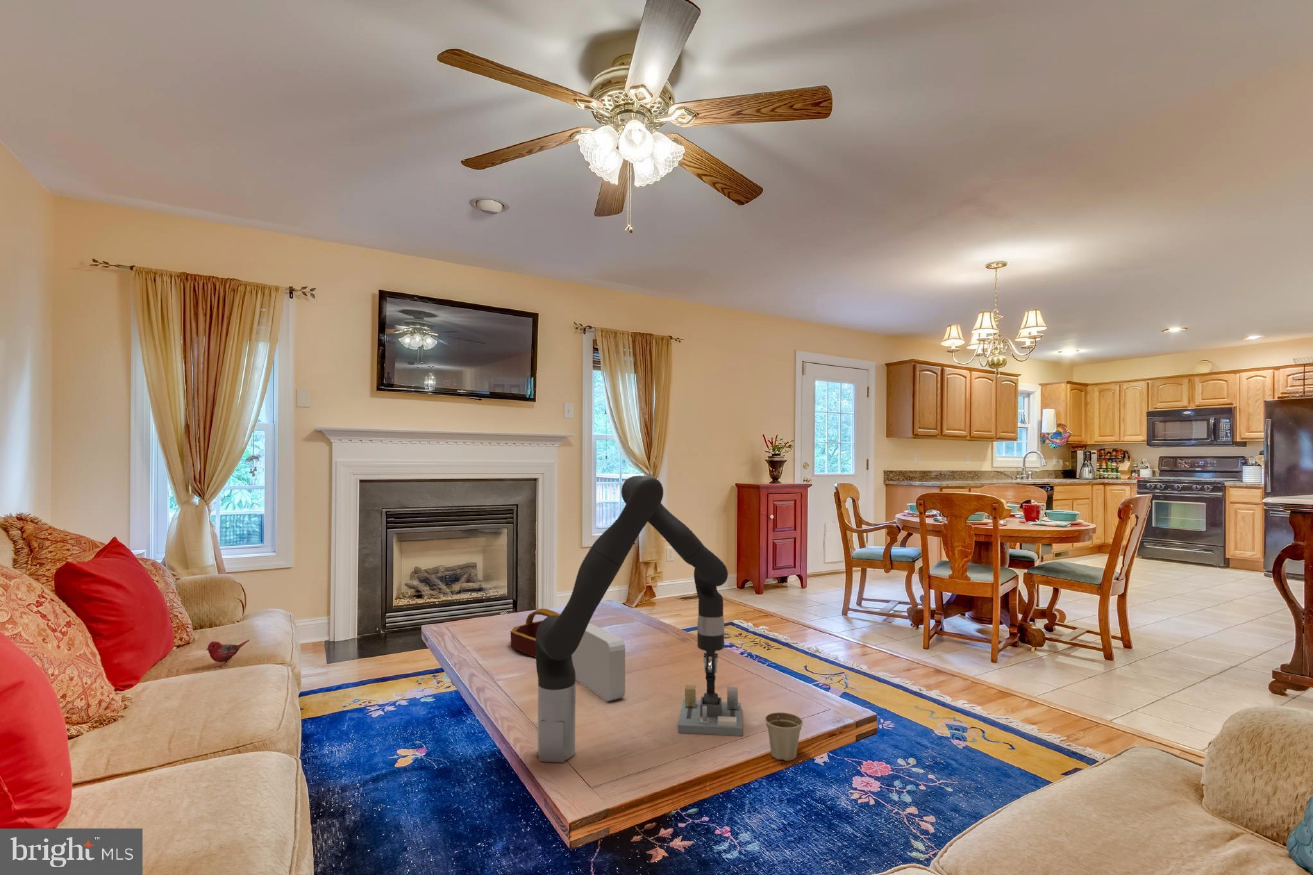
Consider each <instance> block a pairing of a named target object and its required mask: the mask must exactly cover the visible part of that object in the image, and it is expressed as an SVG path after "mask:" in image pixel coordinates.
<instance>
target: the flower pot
mask: <svg viewBox="0 0 1313 875" xmlns="http://www.w3.org/2000/svg"><path fill="white" fill-rule="evenodd" d="M763 719H764V722H765V725H766V728H767V732H768V739H769V740H768V741H769V747H770V755H771V756H772V757H773V758H774V759H776V760H780V761H781V760H784V761H785V762H786V761H788V762H789V761H793V760H795V759H797V755H798V749H799V740H800V739H799V738H800V733H801V730H802V726H803V725H804V719H802V717H800V716H798V715H797V714H793V713H790V712H785V711H783V712H781V711H776V712H770V713H768V714H766V715H765V716H764V718H763Z"/></svg>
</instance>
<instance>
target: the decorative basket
mask: <svg viewBox="0 0 1313 875" xmlns="http://www.w3.org/2000/svg"><path fill="white" fill-rule="evenodd" d="M560 614H561V613H559V612H556V611H554V610H551V609H548V608H537V609H536V610H534V611H533V612H531V613H529V614H528V615H527V617H526V620H525V624H521V625H518V626H517V625H516V626H514V627H513V628H512V629H511V630H510V648H513V649H514V650H516V651H519V652H521V653H524V654H525V655H529V656H532V657H534V658H536V633H537V629H538V627H539V625H540V623H541V622H542V621H543V620H544V619H542V620H538V621H537V620H536V621H534V619H535V616H536V615H539V616H543V617H545V618H547V617H549V616H553V615H558V616H560Z"/></svg>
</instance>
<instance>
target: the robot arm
mask: <svg viewBox="0 0 1313 875" xmlns="http://www.w3.org/2000/svg"><path fill="white" fill-rule="evenodd" d="M620 493H621V498H622V500H623V502H624V504H625V505H624V507H623V509H622V510H621V513H620V514H619V515H618V518H616V520H615V521H614V522H612V524H611V525H610V526H609V527H608V528H607V529H605V531H604V532H603V533H602V534H600V536H599V537H598V538H597V539H596V540H595V541H594V542H593V544H592V545H591V547H590V548H589V550H588V552H587V554H586V555H585V557H584V558H583V560H582V562H581V564H580V567H579V568H578V571H577V575H576V578H575V582H574V586H573V589H572V592H571V595H570V597H569V599H568V601H567V604H565V607H564V608H563V610H562V612H560V613H559V614H560V616H558V615H553V616H549V617H545V618H544V619H542V620H543V621H542V620H541V621H542V622H541V623H540V625H539V627H538V629H537V633H536V657H535V667H536V673H537V686H538V687H537V689H538V692H537V693H538V694H537V756H538V761H539V762H550V763H565V761H566V760H570V758H572V757H574V755H575V754H576V692H577V691H576V673H575V669H574V666H573V662H572V654H573V653H574V652H575V651H576V649H577V647H578V646H579V644H580V641H581V639H582V637H583V635H584V632H585V630H586V628H587V626H588V624H589V623H590V622H591V619H592V617H593V615H594V613H595V612H596V610H597V608H598V607H599V605H600V603H601V601H602V600H603V598H604V597H605V594H606V593H607V591H608V590H609V588H610V586H611V585H612V583H613V581H614V580H615V578H616V576H617V574H619V571H620V569H621V567H622V566H623V564H624V562H625V560H626V558H627V556H628V555H629V553H630V551H631V550H632V548H633V546H634V544H635V542H636V541H637V539H638V536H639V535H640V534H641V532H642V530H644V527H645V526H646V525H647V523H649V524H650V526H652V527H653V528H654V530H656V531H657V532H658V533H659V534H660V536H661V537H663V539H664V540H665V541H666V542H667V543H668V545H669V546H670V547H671V548H672V549H673V550H674V551H675V552H676V553H677V555H679V557H680V558H681V559H682V561H683V562H685V563H687V565H690V566H692V567H693V568H694V570H693V579H694V585H695V589H696V593H697V594H696V595H697V598H698V601H697V602H698V605H697V606H698V607H697V608H698V610H697V611H698V613H697V615H698V616H697V626H696V627H697V628H696V629H697V631H696V632H697V634H696V635H697V637H696V638H697V640H696V641H697V643H696V644H697V648H698V649H699V650H701V651H705V652H703V664H704V673H705V681H706V693H707V694H714V693H716V692H715V690H716V686H715V685H716V676H717V675H716V674H717V671H718V660H719V659H718V658H719V653H717V651H718V652H719V651H720V652H721V651H722V650H723V649H724V648H725V619H724V598H723V596H722V594H720V592H719V591H718V587H721V586H723V585H724V584H726V582H727V580H728V578H729V577H728V576H729V571H728V569H727V566H726V565H725V563H724V562H723V560H721V559H720V558H719V557H718V556H717V555H715V554H714V553H713V552H712V551H711V550H710V549H708V547H706V545H704V544H703V543H702V541H701V540H700V539H699V537H698V536H697V535H696V534H695V533H694V532H693V531H692V529H690V527H688V526H687V525H686V524H684V523H683V522H682V521H681V520H680V519H679V518H677V517H676V516H675V515H674V514H672V513H671V512H670V510H668V509H667V508H666V507H665V506H664V505H663V504H662V502H663V501H662V500H663V498H664V487H663V484H662V483H661V481H660V480H659V479H657V478H656V477H653V476H647V475H633V476H630V477H628V478H626V479H625V481H624V482H623V483H622V486H621V491H620Z"/></svg>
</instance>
